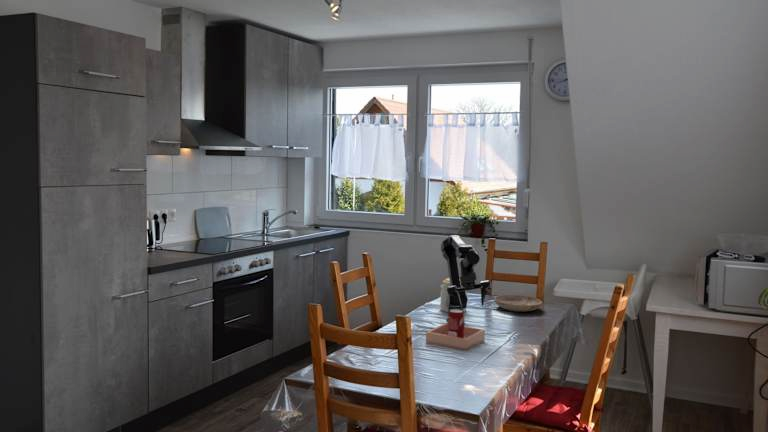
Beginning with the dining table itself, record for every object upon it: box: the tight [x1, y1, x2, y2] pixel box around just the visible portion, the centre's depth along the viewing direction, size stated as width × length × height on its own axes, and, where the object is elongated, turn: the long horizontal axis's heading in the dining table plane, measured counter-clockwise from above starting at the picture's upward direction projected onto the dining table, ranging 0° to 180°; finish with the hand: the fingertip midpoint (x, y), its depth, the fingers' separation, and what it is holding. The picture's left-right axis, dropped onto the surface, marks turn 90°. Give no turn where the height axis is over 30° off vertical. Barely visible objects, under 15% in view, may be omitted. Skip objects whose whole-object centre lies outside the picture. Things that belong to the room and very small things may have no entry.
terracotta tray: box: [425, 322, 486, 352], centre depth 283 cm, size 18×18×4 cm
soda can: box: [447, 309, 465, 338], centre depth 283 cm, size 7×7×12 cm
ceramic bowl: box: [494, 294, 543, 313], centre depth 343 cm, size 23×24×5 cm
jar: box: [439, 277, 468, 313], centre depth 337 cm, size 13×13×18 cm
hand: (471, 307), depth 292 cm, fingers open, 9 cm apart
